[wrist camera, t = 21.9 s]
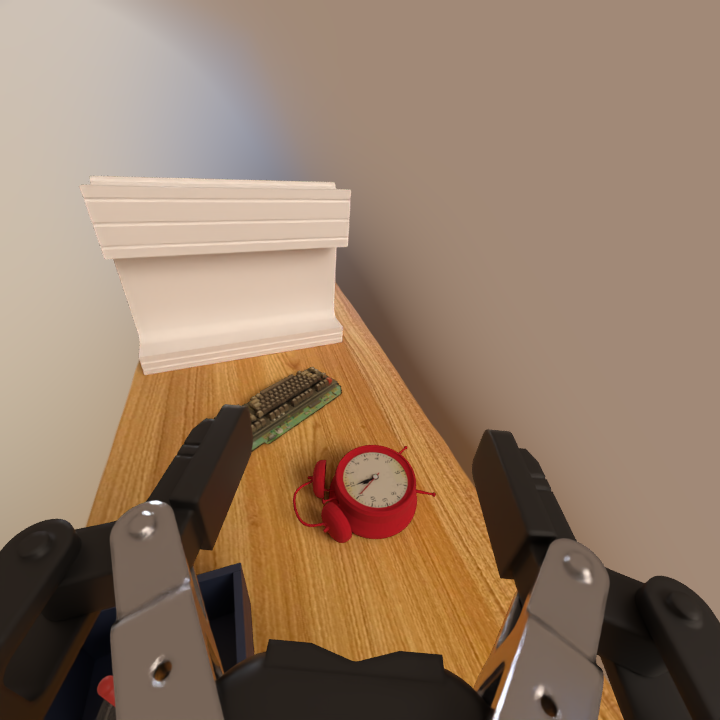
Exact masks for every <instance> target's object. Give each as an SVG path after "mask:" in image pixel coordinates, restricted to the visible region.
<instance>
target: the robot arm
mask: <svg viewBox="0 0 720 720" xmlns="http://www.w3.org/2000/svg"><path fill="white" fill-rule="evenodd" d="M252 447H253V434H252V427H251V419H250V412H249V408H248V407H247V406H238V405H227V404H225V405H223V406H222V408H221V410H220V411H219V413H218V415H217V416H216V418H215V419H207V418H206V419H205V420H203V421H202V422H201V423H200V424H198V425H197V426H196V427H195V428H193V429H192V431H191V432H190V434H189V436H188V437H187V439H186V440H185V442H184V445H182V447H181V448H180V450H179V451H178V454H177V456H175V458H174V459H173V461H172V462H171V464H170V465H169V467H168V469H167V470H166V472H165V473H164V475H163V476H162V478H161V480H160V481H159V483H158V484H157V486H156V487H155V489H154V491H153V492H152V494H151V495H150V497H149V498H148V499H147V501H146V502H144V503H142V504H139V505H137V506H135V507H133V508H131V509H130V510H128V511H127V512H125V513H124V514H123V515H122V516H121V517H120V518H119V519H118V520H117V521H114V522H110V523H105V524H100V525H95V526H90V527H86V528H81V529H76V530H75V529H74V528H73V527H72V525H71V524H70V523H69V522H67V521H66V520H63V519H50V520H45V521H42V522H39V523H36V524H34V525H32V526H30V527H28V528H26V529H25V530H23V531H21V532H20V533H19V534H17V535H16V536H15V537H14V538H12V539H11V540H10V541H9V542H8V543H7V544H6V545H5V546H4V547H3V549H2V550H1V551H0V720H43V719H44V717H45V715H46V713H47V712H48V710H49V708H50V706H51V704H52V702H53V700H54V698H55V697H56V695H57V693H58V691H59V689H60V687H61V685H62V683H63V681H64V680H65V678H66V676H67V674H68V672H69V670H70V668H71V666H72V665H73V663H74V661H75V659H76V657H77V655H78V653H79V651H80V649H81V648H82V646H83V644H84V642H85V640H86V638H87V636H88V634H89V633H90V631H91V629H92V627H93V625H94V623H95V621H96V619H97V618H98V616H99V614H100V612H101V610H105V609H108V608H112V607H116V613H117V617H116V622H114V623H113V624H112V626H111V632H110V642H111V656H112V669H113V682H114V695H115V708H116V720H598V715H599V709H600V702H601V696H602V690H603V681H604V677H603V671H602V669H601V668H600V667H599V666H598V665H597V664H596V655H599V656H600V657H601V660H602V663H603V665H604V668H605V670H606V673H607V676H608V678H609V681H610V684H611V686H612V689H613V692H614V694H615V697H616V700H617V702H618V705H619V708H620V710H621V713H622V716H623V718H624V720H720V623H719V621H718V619H717V618H716V616H715V615H714V613H713V612H712V610H711V609H710V608H709V606H708V605H707V604H706V603H705V602H704V601H703V600H702V599H701V598H700V597H699V596H698V595H697V594H696V593H695V592H694V591H693V590H691V589H690V588H688V587H687V586H686V585H684V584H682V583H681V582H679V581H677V580H675V579H672V578H669V577H665V576H655V577H653V578H651V579H649V580H648V581H647V582H646V583H642V582H640V581H637V580H635V579H632V578H630V577H627V576H625V575H622V574H620V573H617V572H615V571H612V570H610V569H608V568H606V567H604V565H603V563H602V562H601V560H600V559H599V558H598V557H597V556H596V555H595V554H594V553H593V552H592V551H591V550H590V549H588V548H587V547H586V546H584V545H582V544H581V543H579V542H577V541H576V539H575V537H574V535H573V533H572V531H571V529H570V527H569V525H568V522H567V521H566V519H565V516H564V514H563V512H562V510H561V508H560V506H559V504H558V502H557V500H556V498H555V496H554V494H553V492H551V487H550V485H549V483H548V481H547V480H546V479H545V475H544V473H543V471H542V469H541V467H540V465H539V463H538V461H537V460H536V459H535V458H534V457H533V456H532V455H531V454H530V453H529V452H528V451H527V450H526V449H521V448H518V446H517V443H516V441H515V439H514V437H513V435H512V433H511V432H508V431H498V430H485V432H484V434H483V436H482V439H481V441H480V444H479V446H478V449H477V452H476V454H475V457H474V459H473V464H472V474H473V479H474V483H475V487H476V490H477V494H478V498H479V502H480V505H481V509H482V513H483V516H484V520H485V524H486V527H487V531H488V535H489V538H490V542H491V546H492V549H493V553H494V557H495V560H496V564H497V568H498V571H499V575H500V578H504V579H514V581H515V584H516V587H517V591H516V593H515V594H514V597H513V599H512V602H511V604H510V607H509V609H508V612H507V614H506V617H505V619H504V621H503V624H502V626H501V629H500V631H499V634H498V636H497V639H496V641H495V644H494V646H493V649H492V651H491V653H490V655H489V657H488V659H487V661H486V663H485V665H484V666H483V668H482V670H481V672H480V674H479V676H478V678H477V681H476V683H475V685H474V688H472V687H471V686H470V685H469V684H467V683H466V682H465V681H464V680H462V679H461V678H460V677H458V676H457V675H455V674H454V673H452V672H450V671H449V670H446V669H444V666H443V657H442V655H438V654H427V653H416V652H405V651H398V652H394V653H390V654H386V655H382V656H378V657H374V658H370V659H366V660H362V661H351V660H349V659H346V658H344V657H342V656H340V655H337V654H335V653H333V652H331V651H328V650H326V649H324V648H322V647H319V646H317V645H315V644H313V643H306V642H295V641H284V640H273V639H269V642H268V646H267V651H266V652H262V653H258V654H256V655H253V656H251V657H248V658H247V659H245V660H243V661H241V662H239V663H238V664H236V665H235V666H233V667H232V668H231V669H229V670H228V671H226V672H225V673H224V671H223V668H222V664H221V660H220V657H219V653H218V650H217V647H216V643H215V640H214V637H213V634H212V631H211V627H210V624H209V620H208V616H207V613H206V609H205V605H204V602H203V598H202V594H201V591H200V587H199V583H198V579H197V576H196V572H195V568H194V565H193V564H194V561H195V559H196V557H197V554H198V552H199V550H200V549H203V550H213V547H214V545H215V542H216V540H217V537H218V535H219V532H220V530H221V527H222V525H223V522H224V520H225V517H226V515H227V512H228V510H229V508H230V505H231V503H232V500H233V498H234V495H235V493H236V490H237V488H238V485H239V483H240V480H241V478H242V475H243V473H244V470H245V468H246V465H247V463H248V461H249V458H250V455H251V452H252Z"/></svg>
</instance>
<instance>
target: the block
mask: <svg viewBox="0 0 720 720" xmlns="http://www.w3.org/2000/svg"><path fill="white" fill-rule="evenodd" d="M89 178H90V183H91V185H80V186H79V187H80V190H81V193H82V196H83V198H84V200H85V204H86V207H87V210H88V213H89V216H90V218H91V221H92V223H93V227H94V230H95V233H96V236H97V239H98V242H99V245H100V246H101V250H102V253H103V256H104V259H113V260H114V263H115V266H116V268H117V272H118V275H119V277H120V281H121V284H122V286H123V289H124V293H125V296H126V298H127V302H128V305H129V308H130V311H131V314H132V317H133V320H134V323H135V326H136V329H137V332H138V335H139V339H140V350H139V360H140V362H141V366H142V368H143V372H144V374H145V375H148V374H154V373H160V372H166V371H172V370H178V369H184V368H190V367H196V366H202V365H208V364H214V363H220V362H226V361H232V360H238V359H244V358H250V357H256V356H262V355H268V354H274V353H280V352H286V351H292V350H298V349H303V348H309V347H315V346H321V345H327V344H333V343H339V342H342V336H343V333H342V331H343V326H342V325H341V324H340V322H339V321H338V320H337V319H336V317H335V314H334V293H335V269H336V247H348V235H349V218H350V199H351V190H349V189H336V187H335V183H334V182H304V181H268V180H229V179H193V178H155V177H154V178H153V177H116V176H90V177H89Z"/></svg>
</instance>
